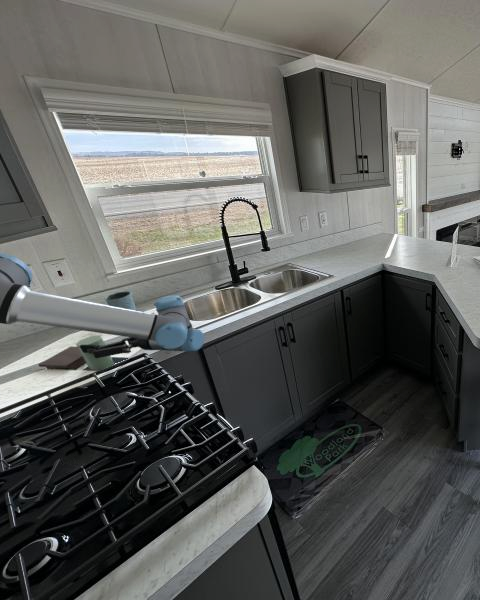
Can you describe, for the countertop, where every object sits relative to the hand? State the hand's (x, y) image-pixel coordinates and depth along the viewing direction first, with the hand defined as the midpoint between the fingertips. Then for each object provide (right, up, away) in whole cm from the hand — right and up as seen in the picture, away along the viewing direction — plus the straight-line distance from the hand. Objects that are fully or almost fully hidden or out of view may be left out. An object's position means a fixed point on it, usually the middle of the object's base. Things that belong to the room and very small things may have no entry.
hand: (101, 337), depth 114 cm
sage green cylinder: (-9, -12, +10) cm, 18 cm away
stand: (-23, -12, +14) cm, 30 cm away
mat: (-9, -13, +10) cm, 19 cm away
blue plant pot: (-32, +4, +49) cm, 58 cm away
